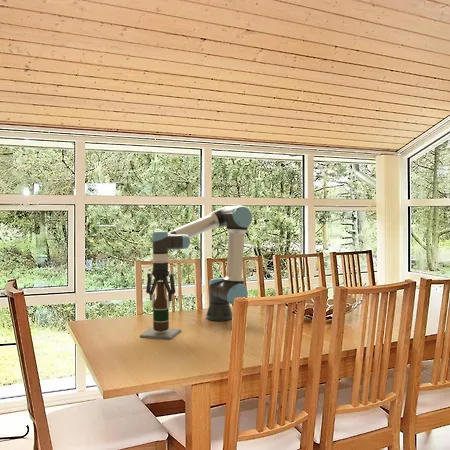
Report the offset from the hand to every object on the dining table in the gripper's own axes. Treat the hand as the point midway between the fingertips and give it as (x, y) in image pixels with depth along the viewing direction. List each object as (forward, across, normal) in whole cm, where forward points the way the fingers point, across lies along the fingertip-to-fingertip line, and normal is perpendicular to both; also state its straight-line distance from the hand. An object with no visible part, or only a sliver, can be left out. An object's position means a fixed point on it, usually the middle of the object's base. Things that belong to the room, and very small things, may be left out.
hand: (160, 307), depth 239 cm
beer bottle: (+11, 0, 0) cm, 11 cm away
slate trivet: (+14, 0, 0) cm, 14 cm away
